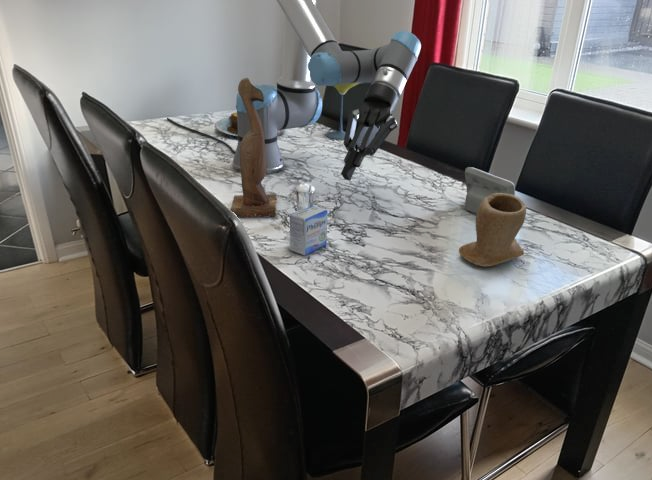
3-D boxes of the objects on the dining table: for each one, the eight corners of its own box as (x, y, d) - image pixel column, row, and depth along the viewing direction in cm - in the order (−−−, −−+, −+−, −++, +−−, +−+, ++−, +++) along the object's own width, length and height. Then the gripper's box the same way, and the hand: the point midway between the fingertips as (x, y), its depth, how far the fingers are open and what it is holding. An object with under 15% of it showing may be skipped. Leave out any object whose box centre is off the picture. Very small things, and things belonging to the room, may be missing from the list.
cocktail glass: (335, 127, 225) (338, 59, 213) (374, 136, 216) (379, 65, 204) (306, 135, 212) (307, 63, 200) (345, 145, 203) (349, 70, 191)
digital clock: (518, 221, 150) (526, 181, 145) (490, 225, 146) (498, 185, 141) (480, 199, 162) (486, 162, 157) (454, 203, 159) (459, 165, 154)
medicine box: (304, 256, 125) (305, 219, 121) (289, 250, 127) (289, 214, 123) (327, 245, 131) (328, 209, 127) (312, 239, 133) (312, 204, 129)
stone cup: (487, 277, 121) (499, 211, 114) (450, 255, 130) (460, 191, 122) (537, 263, 128) (552, 199, 121) (499, 242, 137) (511, 182, 130)
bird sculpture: (279, 218, 143) (277, 83, 127) (231, 218, 141) (223, 82, 126) (276, 201, 153) (275, 74, 137) (231, 202, 151) (225, 73, 135)
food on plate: (293, 127, 221) (294, 110, 218) (271, 144, 200) (271, 125, 197) (232, 120, 226) (231, 103, 222) (203, 135, 204) (202, 117, 201)
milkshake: (301, 225, 140) (301, 186, 135) (292, 217, 144) (292, 179, 139) (318, 223, 142) (319, 184, 137) (309, 215, 146) (310, 177, 141)
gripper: (356, 77, 137) (315, 162, 132) (405, 86, 132) (365, 175, 127) (365, 97, 144) (327, 178, 139) (412, 105, 138) (374, 191, 134)
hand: (345, 176), depth 133 cm, fingers closed
